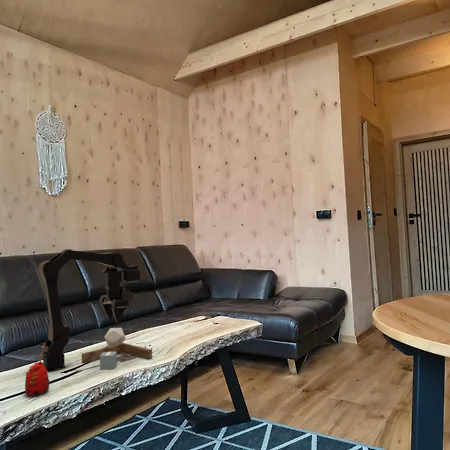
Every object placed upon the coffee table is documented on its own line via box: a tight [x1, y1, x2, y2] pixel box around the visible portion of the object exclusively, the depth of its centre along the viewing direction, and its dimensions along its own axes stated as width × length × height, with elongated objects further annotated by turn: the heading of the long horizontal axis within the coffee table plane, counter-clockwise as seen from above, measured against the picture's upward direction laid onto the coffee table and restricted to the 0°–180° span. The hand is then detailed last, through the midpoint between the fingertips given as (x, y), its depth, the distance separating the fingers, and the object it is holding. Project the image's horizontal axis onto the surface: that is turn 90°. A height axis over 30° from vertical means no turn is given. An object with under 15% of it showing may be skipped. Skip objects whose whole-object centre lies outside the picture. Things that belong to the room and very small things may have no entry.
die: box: [104, 327, 127, 347], centre depth 183 cm, size 8×9×10 cm
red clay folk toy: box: [24, 343, 50, 397], centre depth 129 cm, size 8×7×15 cm
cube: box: [99, 352, 118, 370], centre depth 153 cm, size 5×5×5 cm
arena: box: [81, 342, 153, 364], centre depth 160 cm, size 19×19×4 cm
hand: (114, 322), depth 168 cm, fingers open, 9 cm apart
